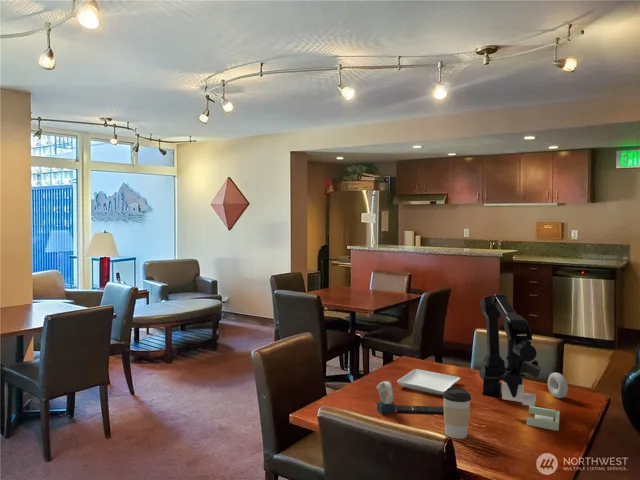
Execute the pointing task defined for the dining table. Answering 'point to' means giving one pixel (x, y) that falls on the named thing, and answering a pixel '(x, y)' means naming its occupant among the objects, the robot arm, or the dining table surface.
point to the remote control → (420, 409)
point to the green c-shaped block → (540, 422)
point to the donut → (562, 385)
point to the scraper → (518, 395)
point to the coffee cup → (456, 412)
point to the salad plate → (428, 381)
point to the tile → (544, 417)
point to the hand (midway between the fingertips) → (514, 395)
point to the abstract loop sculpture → (386, 403)
